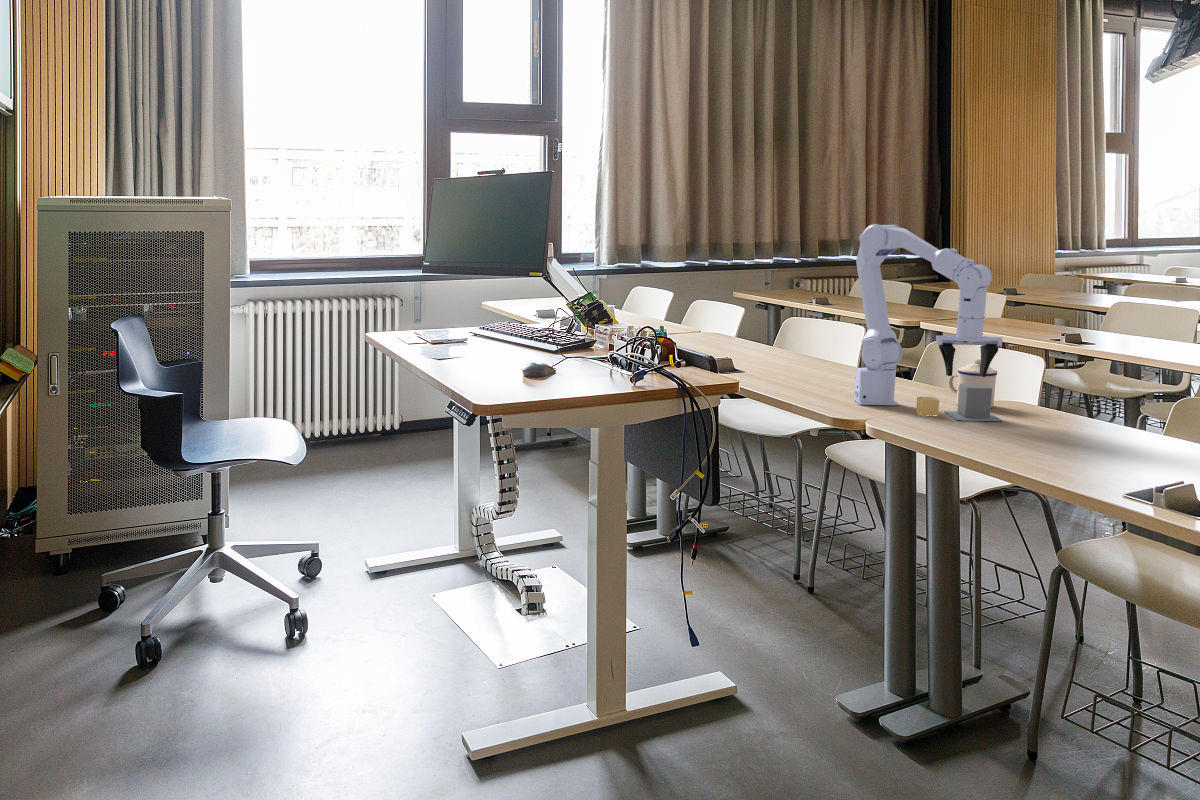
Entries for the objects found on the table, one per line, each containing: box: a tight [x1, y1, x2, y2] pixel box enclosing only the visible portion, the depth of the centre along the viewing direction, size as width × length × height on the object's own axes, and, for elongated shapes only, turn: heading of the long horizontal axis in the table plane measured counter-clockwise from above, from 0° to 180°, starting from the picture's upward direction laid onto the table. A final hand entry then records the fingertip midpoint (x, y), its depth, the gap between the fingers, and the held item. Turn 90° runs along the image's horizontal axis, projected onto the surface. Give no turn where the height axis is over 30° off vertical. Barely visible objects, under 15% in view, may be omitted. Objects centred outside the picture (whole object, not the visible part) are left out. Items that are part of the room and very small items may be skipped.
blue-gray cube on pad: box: [957, 384, 992, 418], centre depth 219 cm, size 6×6×7 cm
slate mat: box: [944, 410, 1004, 423], centre depth 219 cm, size 10×10×1 cm
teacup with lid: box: [948, 358, 998, 408], centre depth 234 cm, size 12×9×12 cm
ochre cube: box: [915, 396, 940, 417], centre depth 222 cm, size 4×4×4 cm
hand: (965, 375), depth 219 cm, fingers open, 7 cm apart
